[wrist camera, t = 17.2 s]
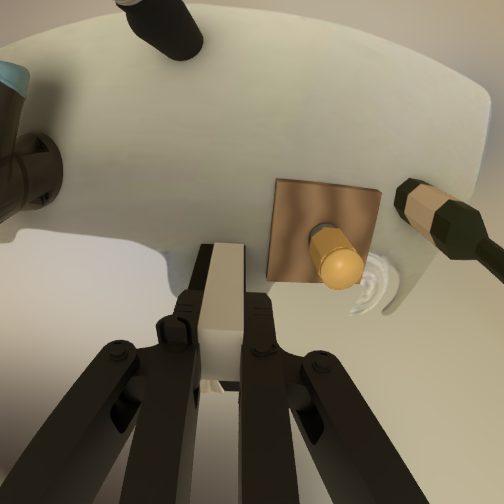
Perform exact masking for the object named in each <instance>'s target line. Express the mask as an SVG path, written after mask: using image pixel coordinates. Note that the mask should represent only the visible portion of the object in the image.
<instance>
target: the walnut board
mask: <svg viewBox="0 0 504 504" xmlns="http://www.w3.org/2000/svg"><path fill="white" fill-rule="evenodd" d="M381 195H382V193H381V192H380V191H378V190H375V189H368V188H361V187H353V186H345V185H337V184H329V183H319V182H310V181H299V180H288V179H276V184H275V194H274V204H273V214H272V224H271V234H270V244H269V253H268V263H267V272H266V278H267V281H275V282H302V283H324V282H323V280H322V278H321V277H320V276H319V275H318V272H317V270H316V268H315V265H314V263H313V261H312V258H311V256H310V253H309V248H310V245H309V241H308V238H309V234H310V232H311V230H312V229H313V228H314V227H315V226H316V225H318V224H320V223H331V224H333V225H335V226H336V227H337V228H340V230H341V231H342V232H343V234H344V235H345V236H346V238H347V239H348V240H349V242H350V243H351V244H352V246H353V247H354V249H355V250H356V251H357V253H358V254H359V256H360V257H361V258H362V260H363V264H364V267H365V264H366V260H367V256H368V252H369V248H370V244H371V240H372V236H373V232H374V228H375V223H376V219H377V214H378V209H379V205H380V200H381ZM363 271H364V269H363ZM362 274H363V273H362ZM361 278H362V276H361V277H360V279H359V280H358V281H357V282H356V283H355V284H360V282H361Z"/></svg>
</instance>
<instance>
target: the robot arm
mask: <svg viewBox="0 0 504 504" xmlns="http://www.w3.org/2000/svg"><path fill="white" fill-rule="evenodd" d="M29 77H30V75H29V71H28V70H27V69H26V68H25V67H23V66H20V65H17V64H13V63H9V62H4V61H0V223H2V222H3V221H5V220H6V219H8V218H9V217H11V216H12V215H14V214H15V213H17V212H19V211H27V210H37V209H40V208H42V207H44V206H46V205H47V204H49V203H50V202H51V201H52V200H53V199H54V198H55V197H56V195H57V194H58V192H59V189H60V187H61V183H62V176H63V167H62V160H61V156H60V153H59V150H58V148H57V146H56V145H55V143H54V142H53V141H52V139H51V138H50V137H48V136H47V135H45V134H43V133H40V132H32V133H28V134H24V135H22V136H20V137H19V138H17V139H16V135H17V129H18V124H19V119H20V115H21V110H22V106H23V102H24V100H25V99H26V95H25V94H26V90H27V86H28V82H29ZM156 330H157V336H158V341H159V344H157V345H154V346H151V347H146V348H139V349H136V348H135V346H134V345H133V344H132V343H130V342H129V341H125V340H115V341H112V342H110V343H108V344H107V345H105V346H104V347H103V348H102V349H101V351H100V352H99V353H98V354H97V356H96V357H95V358H94V359H93V360H92V362H91V363H90V364H89V365H88V367H87V368H86V369H85V371H84V372H83V373H82V374H81V375H80V377H79V378H78V379H77V381H76V382H75V383H74V384H73V386H72V387H71V388H70V390H69V391H68V392H67V393H66V395H65V396H64V397H63V399H62V400H61V401H60V403H59V404H58V405H57V407H56V408H55V409H54V410H53V412H52V413H51V414H50V416H49V417H48V418H47V420H46V421H45V423H44V424H43V425H42V427H41V428H40V429H39V431H38V432H37V434H36V435H35V436H34V438H33V439H32V441H31V442H30V443H29V445H28V446H27V448H26V449H25V450H24V452H23V453H22V455H21V456H20V458H19V459H18V461H17V462H16V464H15V465H14V467H13V468H12V470H11V471H10V473H9V474H8V476H7V477H6V479H5V480H4V482H3V484H2V485H1V487H0V504H92V502H93V500H94V499H95V497H96V495H97V493H98V492H99V489H100V488H101V486H102V484H103V482H104V481H105V479H106V477H107V475H108V473H109V472H110V470H111V468H112V466H113V464H114V462H115V461H116V459H117V457H118V455H119V454H120V452H121V450H122V448H123V446H124V445H125V443H126V441H127V439H128V438H129V436H130V434H131V432H132V431H133V429H134V427H135V425H136V427H135V431H134V436H133V440H132V444H131V448H130V453H129V457H128V462H127V466H126V471H125V476H124V481H123V486H122V491H121V496H120V502H119V504H190V492H191V479H192V467H193V457H194V445H195V436H196V426H197V417H198V408H199V399H200V377H201V379H203V380H218V381H239V399H238V400H239V401H238V404H239V443H238V444H239V445H238V448H239V450H238V504H300V503H299V494H298V485H297V475H296V466H295V458H294V449H293V441H292V432H291V424H290V416H289V408H290V409H291V412H292V414H293V417H294V419H295V421H296V423H297V426H298V428H299V430H300V432H301V435H302V437H303V439H304V441H305V443H306V446H307V448H308V450H309V452H310V454H311V457H312V459H313V461H314V463H315V465H316V467H317V470H318V472H319V474H320V476H321V478H322V480H323V482H324V485H325V487H326V489H327V491H328V493H329V495H330V497H331V499H332V502H333V504H429V502H428V500H427V499H426V497H425V495H424V494H423V492H422V491H421V489H420V487H419V486H418V484H417V482H416V481H415V479H414V478H413V476H412V474H411V473H410V471H409V469H408V468H407V466H406V465H405V463H404V461H403V460H402V458H401V457H400V455H399V453H398V452H397V450H396V449H395V447H394V446H393V444H392V442H391V441H390V439H389V437H388V436H387V434H386V433H385V431H384V430H383V428H382V426H381V425H380V423H379V422H378V420H377V418H376V417H375V415H374V414H373V412H372V411H371V409H370V407H369V406H368V404H367V403H366V401H365V400H364V398H363V397H362V395H361V393H360V392H359V390H358V389H357V387H356V386H355V384H354V383H353V381H352V379H351V378H350V376H349V375H348V373H347V372H346V370H345V369H344V367H343V366H342V364H341V362H340V361H339V360H338V358H336V356H335V355H333V354H331V353H329V352H326V351H322V350H320V351H319V350H318V351H312V352H310V353H308V354H307V355H306V356H305V357H301V356H296V355H293V354H290V353H288V352H286V351H284V350H283V349H282V348H281V347H280V346H279V345H278V343H277V340H276V333H275V326H274V318H273V311H272V303H271V299H270V298H269V297H268V295H267V294H266V293H254V292H244V244H235V243H214V248H213V253H212V257H211V262H210V267H209V272H208V277H207V281H206V286H205V291H201V290H184V291H183V292H182V293H181V294H180V295H179V296H178V299H177V302H176V305H175V308H174V312H173V315H168V316H165V317H163V318H162V319H160V320H159V321H158V322H157V324H156Z"/></svg>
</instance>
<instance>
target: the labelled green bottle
mask: <svg viewBox="0 0 504 504" xmlns="http://www.w3.org/2000/svg"><path fill="white" fill-rule="evenodd" d="M394 206H395V208H396V210H397V212H398V213H399V215H400V217H401V218H402V219H403V220H405V221H406V222H407V223H408V224H410V225H411V226H412V227H413V228H415V229H416V230H417V231H418V232H419V233H421V234H422V235H423V236H424V237H425V238H427V239H428V240H429V241H430V242H431V243H432V244H434V245H435V246H436V247H437V248H438V249H439V250H440V251H442V252H443V253H444V254H445V255H446V256H447V257H448V258H449V259H451V260H478V261H479V262H480V263H481V264H482V265H483V266H485V267H486V268H487V269H488V270H489V271H490V272H491V273H492V274H494V275H495V276H496V277H497V278H498V279H499V280H500V281H501V282H502V283H503V284H504V249H503V248H502V247H500V246H499V245H498V244H496V243H495V242H494V241H492V240H491V239H489V237H488V234H487V231H486V228H485V225H484V223H483V220H482V217H481V214H480V212H479V211H477V210H476V209H474V208H472V207H471V206H469V205H467V204H466V203H464V202H462V201H460V200H458V199H457V198H455V197H453V196H451V195H449V194H447V193H446V192H444V191H442V190H440V189H438V188H436V187H434V186H432V185H430V184H428V183H426V182H424V181H422V180H417V179H411V178H409V179H407V180H406V181H405V182H404V183H403V184H401V185H400V186H399V187H398V188H397V190H396V196H395V201H394Z"/></svg>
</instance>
